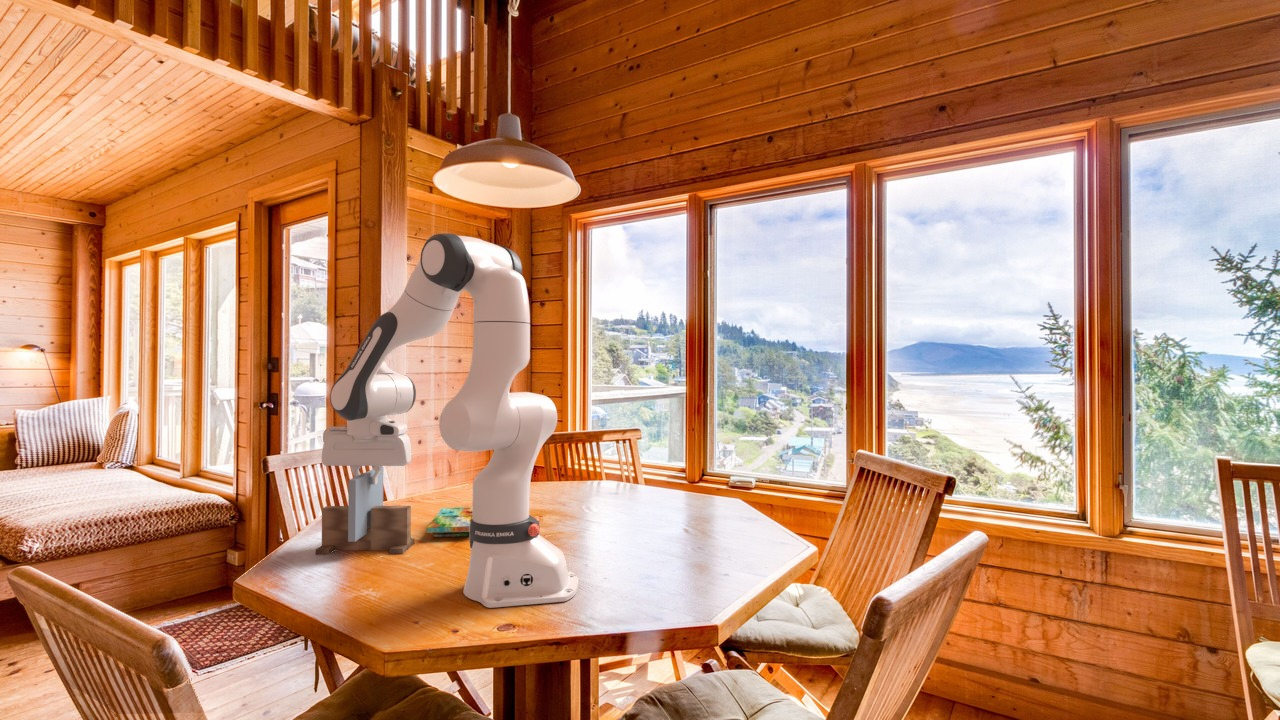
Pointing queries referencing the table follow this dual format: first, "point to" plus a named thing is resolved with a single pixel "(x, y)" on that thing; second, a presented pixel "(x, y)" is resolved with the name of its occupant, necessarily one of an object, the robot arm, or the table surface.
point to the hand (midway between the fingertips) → (366, 484)
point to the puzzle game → (451, 522)
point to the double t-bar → (383, 534)
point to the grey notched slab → (362, 503)
